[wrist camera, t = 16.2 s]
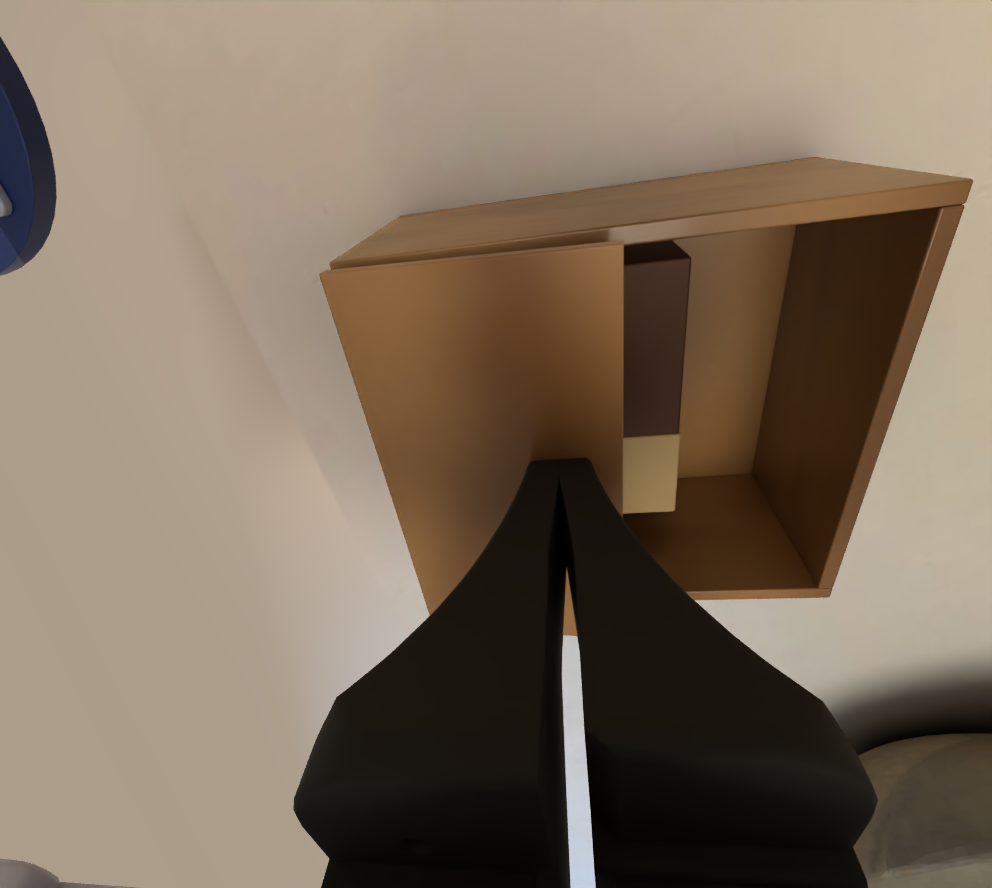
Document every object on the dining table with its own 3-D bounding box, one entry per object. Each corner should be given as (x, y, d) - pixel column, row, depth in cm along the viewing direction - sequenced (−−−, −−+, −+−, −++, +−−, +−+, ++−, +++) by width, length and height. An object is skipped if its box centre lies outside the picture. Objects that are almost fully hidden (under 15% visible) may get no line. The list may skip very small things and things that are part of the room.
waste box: (461, 491, 21) (434, 606, 16) (399, 215, 15) (327, 262, 10) (756, 475, 19) (829, 598, 14) (817, 156, 13) (975, 178, 8)
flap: (435, 615, 16) (432, 623, 15) (325, 269, 10) (318, 274, 10) (622, 631, 14) (622, 640, 14) (624, 239, 8) (624, 243, 8)
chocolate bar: (657, 458, 19) (675, 512, 16) (548, 464, 19) (549, 518, 17) (667, 233, 14) (694, 256, 12) (528, 251, 15) (524, 276, 12)
